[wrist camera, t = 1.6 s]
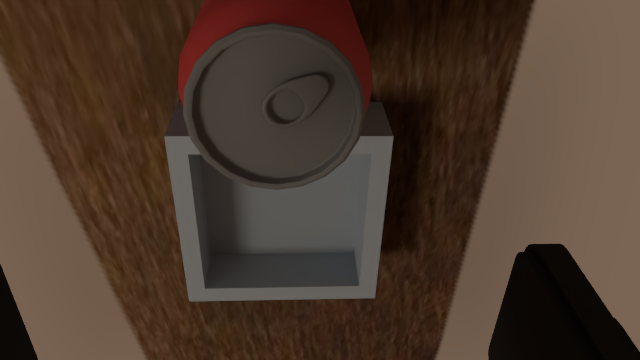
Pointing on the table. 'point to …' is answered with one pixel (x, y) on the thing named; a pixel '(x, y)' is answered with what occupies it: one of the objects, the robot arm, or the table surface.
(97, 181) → the table surface
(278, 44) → the beer can
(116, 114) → the table surface
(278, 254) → the tray
